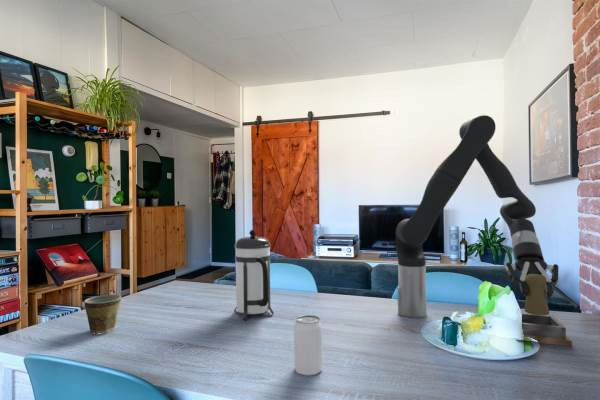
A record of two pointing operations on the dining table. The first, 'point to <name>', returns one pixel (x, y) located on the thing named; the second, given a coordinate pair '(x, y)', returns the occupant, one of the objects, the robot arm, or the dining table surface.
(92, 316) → the ceramic cup
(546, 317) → the brown wooden tray
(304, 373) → the can
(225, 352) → the dining table surface
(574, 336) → the dining table surface
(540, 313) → the cork
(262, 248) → the coffee press
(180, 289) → the dining table surface
